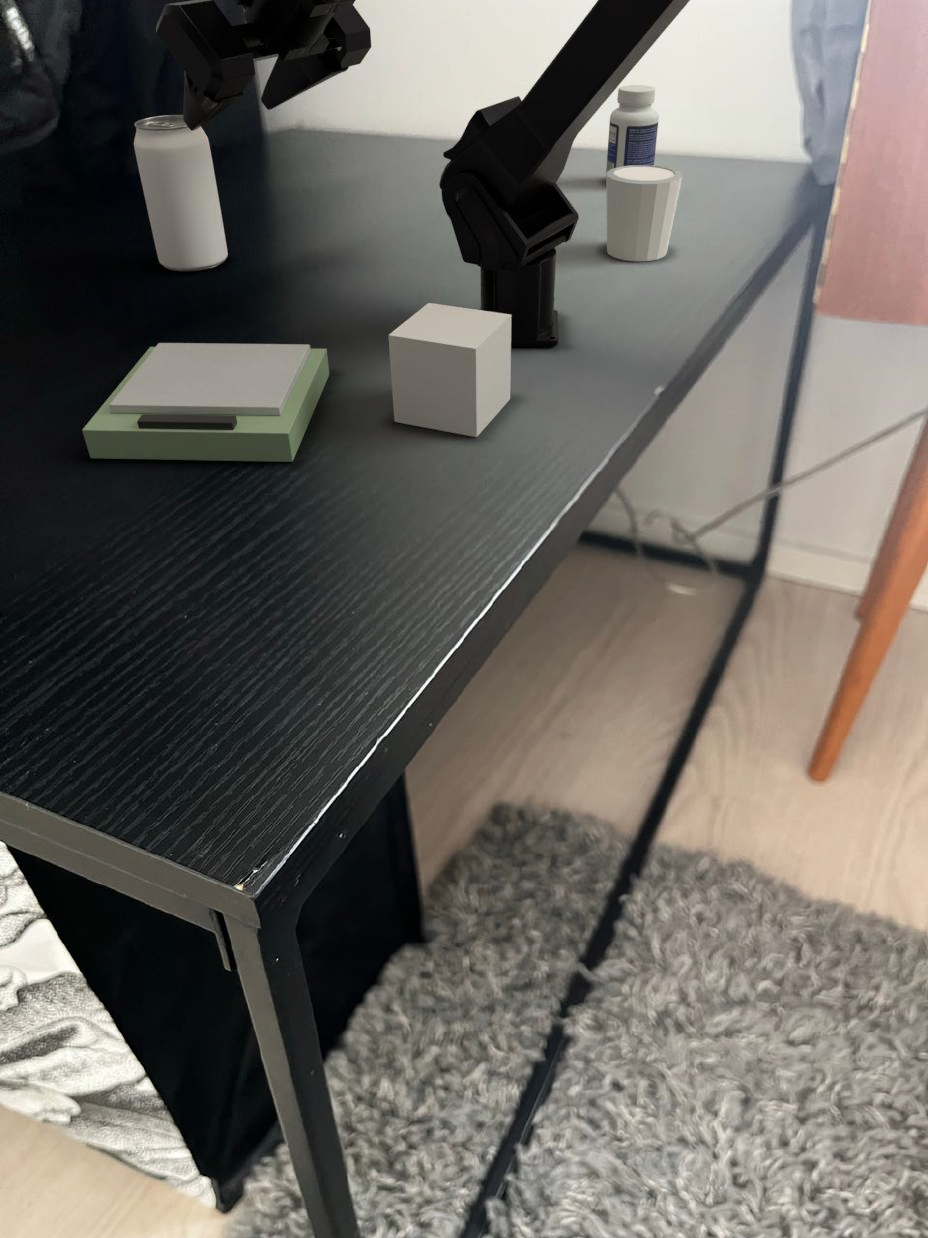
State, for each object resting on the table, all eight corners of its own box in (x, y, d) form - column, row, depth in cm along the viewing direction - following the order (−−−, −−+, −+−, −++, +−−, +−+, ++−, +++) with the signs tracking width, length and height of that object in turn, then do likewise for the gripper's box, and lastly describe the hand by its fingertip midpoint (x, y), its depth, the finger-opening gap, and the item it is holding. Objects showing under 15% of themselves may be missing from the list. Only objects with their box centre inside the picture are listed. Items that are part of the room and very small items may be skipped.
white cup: (672, 265, 86) (682, 183, 82) (597, 261, 87) (603, 180, 83) (674, 242, 91) (683, 164, 87) (603, 238, 93) (609, 162, 88)
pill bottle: (659, 180, 109) (669, 85, 103) (640, 191, 106) (649, 93, 100) (617, 174, 112) (624, 81, 106) (597, 185, 108) (603, 89, 102)
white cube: (510, 399, 65) (512, 314, 61) (476, 437, 61) (476, 348, 57) (431, 385, 67) (428, 302, 63) (393, 421, 63) (388, 334, 59)
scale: (292, 462, 59) (287, 424, 57) (90, 458, 59) (79, 420, 58) (329, 374, 69) (325, 340, 67) (156, 372, 69) (148, 338, 68)
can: (194, 277, 86) (166, 132, 78) (144, 265, 88) (113, 124, 81) (243, 257, 90) (220, 117, 82) (194, 246, 93) (168, 111, 85)
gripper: (327, -147, 71) (242, 17, 83) (143, -147, 59) (73, 45, 71) (418, -19, 73) (322, 124, 85) (257, 7, 61) (170, 171, 72)
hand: (228, 114), depth 78 cm, fingers open, 9 cm apart
